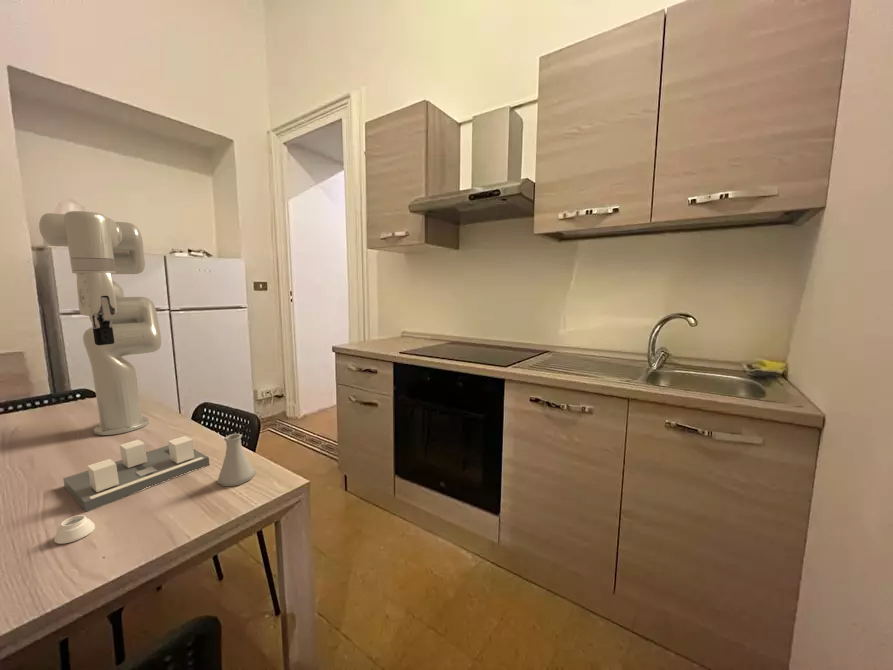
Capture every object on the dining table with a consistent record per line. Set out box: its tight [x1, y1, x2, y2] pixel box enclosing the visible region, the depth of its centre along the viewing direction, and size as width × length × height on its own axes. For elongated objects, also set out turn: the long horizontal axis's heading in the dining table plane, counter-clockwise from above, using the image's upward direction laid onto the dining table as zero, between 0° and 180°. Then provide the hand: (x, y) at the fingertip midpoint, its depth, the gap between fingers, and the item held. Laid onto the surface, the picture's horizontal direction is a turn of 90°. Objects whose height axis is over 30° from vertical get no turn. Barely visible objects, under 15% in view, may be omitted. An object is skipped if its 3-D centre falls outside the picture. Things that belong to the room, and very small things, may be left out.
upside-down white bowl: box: [54, 514, 96, 545], centre depth 65 cm, size 5×3×5 cm
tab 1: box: [87, 458, 119, 492], centre depth 76 cm, size 4×4×4 cm
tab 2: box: [119, 439, 147, 468], centre depth 86 cm, size 4×4×4 cm
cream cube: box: [167, 435, 194, 464], centre depth 88 cm, size 4×4×4 cm
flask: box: [216, 433, 257, 487], centre depth 83 cm, size 7×7×10 cm
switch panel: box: [63, 444, 210, 512], centre depth 85 cm, size 16×22×2 cm
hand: (104, 344), depth 90 cm, fingers closed
